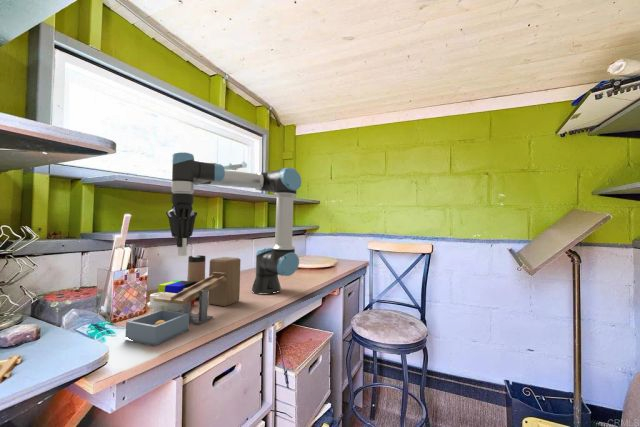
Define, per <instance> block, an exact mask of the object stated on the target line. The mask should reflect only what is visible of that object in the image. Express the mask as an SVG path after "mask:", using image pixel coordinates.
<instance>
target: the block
mask: <svg viewBox="0 0 640 427" xmlns="http://www.w3.org/2000/svg"><path fill="white" fill-rule="evenodd" d="M241 261H242V260H241V258H239V257H228V256H222V257H215V258H211V259H210V260H209V274H208V277H210V276H212V275H213V272H220V273H226V281H224V282H223V283H221V284H219V285H218V286H216V287H214V288H213V289H211V290H209V291H208V305H213V306H220V307H227V306H230V305H232V304H235V303H237V302H239V301H240V293H241V292H240V287H241V286H240V285H241Z"/></svg>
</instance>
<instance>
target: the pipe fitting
mask: <svg viewBox="0 0 640 427" xmlns="http://www.w3.org/2000/svg"><path fill="white" fill-rule="evenodd" d="M161 294H163V293H158V292H154V293H151V294H150V295H149V302H147V303H146V304H147V306H146V307H148V308H151V310H152V312H151V313H154V312H157V311H160V310H162V306H165V305H168V303H163V302H155V301H154V299H153V298H155V297H157V296H159V295H161Z"/></svg>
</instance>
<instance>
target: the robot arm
mask: <svg viewBox="0 0 640 427" xmlns="http://www.w3.org/2000/svg"><path fill="white" fill-rule="evenodd" d="M171 157H172V158H171V193H172V194H171V198H170V199H171V200H170V201H171V204H172V206H171V210H170V209H169V211H168V210H167V211H166V212H165V214H166V216H167V218H168V222H169V227H170V233H171V237H172V238H174V239H176V247H177V256H178V257H180V256H182V257H185V256H187V252H188V248H187V247H188V245H189V243H188V242H189V241H188V239H189V238H191V237H193V236H192V235H193V232H194V228H195V223H196V222H195V221H196V218H197V215H198V212H197V211H194V210H193V204H194V202H195V201H194V195H193V194H194V192H195V189H194V188H195V187H194V185H195V186H198V185H205V186H207V185H208V186H209V185H210V186H219V187H233V188H235V187H236V188H245V189H247V188H248V189H249V188H250V189H255V191H260V192H261V191H262V192H269V193H273V195H274V196H275V197H276V200H275V201H276V204H275V207H276V208H275V229H274V230H275V231H274V232H275V237H274V245H273V246H272V247H266V248H258V249H257V250H256V254H255V278H254V281H253V283H252V287H251V292H252V291H253V292H254V293H253V292H252V293H253V294H255V293H273V292H277V291H280V290H281V288H282V287H281V282H280V279H279V277H278V275H279V276H281V277H290V276H292V275H293V274H295V272H296V271H297V270H298V269H299V265H300V259H299V256H298V255H297V254H296V249H295V247H294V246H293V225H294V224H293V223H294V222H293V221H294V198H295V197H296V196H297V191H298V190H299V189H300V187H301V186H302V177H301V175H300V173H299V172H298V171H297V169H295V168H294V167H282V168H280V169H276V170H272V171H266V172H260V171H257V172H256V173H252V172H243V171H235V170H228V169H227V170H226V169H225V167H224V166H223V164H221V163H216V162H209V161H208V162H207V161H201V160H196V159H195V155H194V154H193V153H190V152H183V151H176V152H174V153H172V156H171ZM281 291H282V290H281ZM281 291H280V292H281Z"/></svg>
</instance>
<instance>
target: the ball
mask: <svg viewBox="0 0 640 427" xmlns="http://www.w3.org/2000/svg"><path fill="white" fill-rule="evenodd" d="M164 322H165V321H164V320H159V321H157V322H156V323H155V324H154V325H155V326H156V325H158V324H161V323H164Z"/></svg>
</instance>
